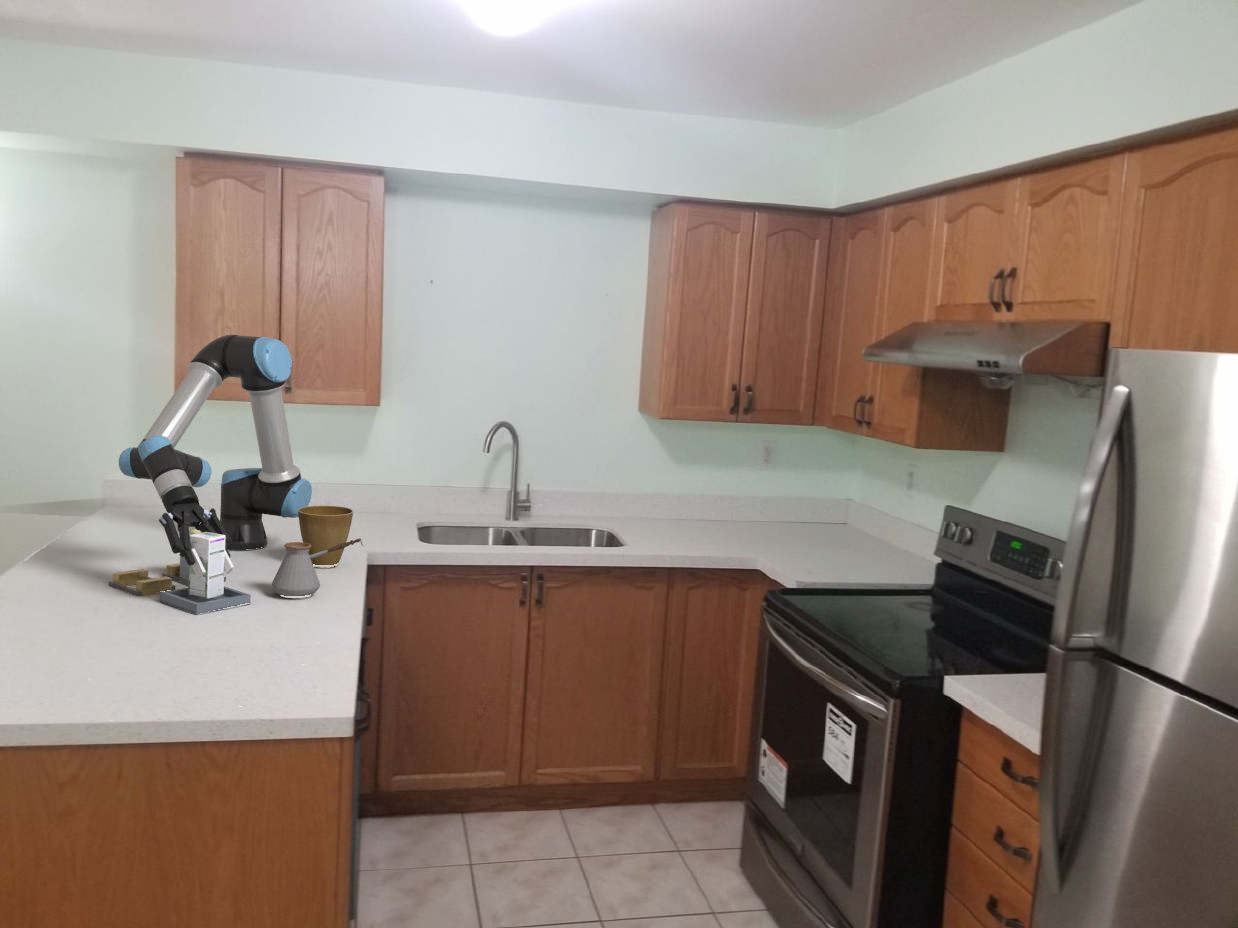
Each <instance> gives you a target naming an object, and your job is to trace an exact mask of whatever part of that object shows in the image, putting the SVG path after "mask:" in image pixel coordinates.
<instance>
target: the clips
mask: <svg viewBox="0 0 1238 928" xmlns="http://www.w3.org/2000/svg"><path fill="white" fill-rule="evenodd" d="M162 577H170V578H172V582H175V583H178V584H182V585H184V586H188V587H189V580H187V579H183V578H180V562H179V563H174V564H173V563H172V564H167V565H166V572H164V573H162ZM225 580H226V581H227V577H226V576H224V582H226V581H225Z"/></svg>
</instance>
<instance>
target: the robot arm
mask: <svg viewBox="0 0 1238 928" xmlns="http://www.w3.org/2000/svg"><path fill="white" fill-rule="evenodd" d="M292 361H293V360H292V356H291V352H290V350H289V349H288V346H287V345H286V344H285V343H283V342H282V341H281V340H279V339H276V338H270V337H267V336H251V335H250V336H248V335H238V334H225V335H222V336H220V337H217V338H215V339H214V340H212V341H210V342H209V343H207V344H206V345H205V346H203V348H201V349H200V350H199V351H198V352H197V353H196V355H195V356H194V357H193V358H192V359H191V361H190V362H189V363H188V366H187V374H186V375H185V376H184V379H182V381H181V383H180V385H178V387H177V389H176V390H175V391H174V393H173V395H172V396H171V397H170V399H169V400H168V402H167V404H165V406H164V407H163V409H162V410H161V412H160V414H159V415H157V418H156V419H155V421H154V422H153V424H152V425H151V427H150V428H149V429H148V432H147V433H145V435H144V437H143V438H142V439H141V441H140V443H139V444H138V446H137V447H135V446H134V447H128V448H126V449H124V450H123V451H121V453H120V455H119V457H118V467H119V471H120V472H121V473H122V474H123V475H124V476H126V477H132V478H135V479H143V480H151V481H152V483H153V484H152V485H154V488H155V490H156V493H157V494H158V497H159V498H160V500H161V502H162V504H163V506H164V509H165V511H166V512H164V513H162V515H161V516H160V518H159V519H158V521H159V523H160V524H161V526H162V527H163V529H164V532H165V534H166V537H167V540H168V543H169V545H170V549H171V551H172V553H173V554H179V557H180V556H181V557H185V560H186V562H187V564H188V565H189V566H190V565H191V566H192V568H193V570H194V572H195V574H196V576H197V579H200V578H201V577H202V576H203V575H204V574H205V572H206V571H205V569H204V567H203V565H202V563H201V561H200V559H199V557H198V554H197V552H196V550H195V548H194V549H191V550H190V548H191V547H190V535H189V532H190V527H191V528H196V529H197V530H200V531H201V532H210V533H216V534H221V535H225V561H224V574H225V575H229V574H230V573H231V572H232V571H233V569H234V568H235V566H234V565H233V564H234V563H233V562H232V561H231V553H230V552H229V551H247V550H246V549H255V550H257V549H256V548H261V547H264V546H266V545H267V546H268V537H267V532H266V530H265V526H264V522H263V515H267V516H268V515H269V516H275V517H282V518H285V519H286V518H293V519H295V518H299V516H298V509H300V508H302V507H308V506H309V505H310V503H311V499H312V491H313V489H312V484H311V483H310V481H309V480H308V479H306V478H302V474H301V470H300V467H298V466H297V465H295V464H294V459H293V452H292V448H291V441H290V436H289V428H288V424H287V416H286V411H285V410H286V409H285V403H284V399H283V398H284V397H283V393H282V388H284V387H285V386H286V383H287V382H286V380H288V379H289V377H290V375H291V372H292V370H291V369H292V367H293V362H292ZM229 378H239V379H240V383H241V388H242V389H243V391H245V392H247V393H248V395H249V400H250V406H251V410H252V411H251V413H252V418H253V422H254V429H255V434H256V441H257V445H258V450H259V451H258V452H259V456H260V463H261V467H246V468H235V469H227V470H225V471H224V472H223V473H222V476H221V483H220V486H221V487H220V511H219V512H220V515H219V517H218V516H217V511H216V509H215V508H213V507H212V508H211V509H205V508H204V507H202V506H201V505H200V501H199V497H198V494H197V492H196V491H195V489H194V488H201V487H203V486H205V485H206V484H207V483H208V482H209V480H210V479H211V476H212V468H211V467H212V466H211V464H210V463H209V462H208V461H207V460H205V459H204V458H201V457H200V456H195V455H191V454H189V453H186V452H183V451H181V450H179V449H175V447H176V446H177V445H178V443H179V442H180V440H181V438H182V437H183V436H184V434H185V433H186V432H187V429H188V428H189V427H190V425H191V423H192V422H193V420H194V419H195V417H196V416H197V415H198V413H199V411H200V410H201V408H203V405H204V404H205V402H206V401H207V399H208V397H209V396H210V395H211V393H212V392H213V390H214V389H215V388H218V387H221V385H222V384H223V382H224V380H226V379H229ZM175 523H177V524H176V525H177V528H176V525H175ZM267 546H266V547H267ZM264 548H265V547H264ZM228 549H229V550H228ZM261 549H262V548H261Z"/></svg>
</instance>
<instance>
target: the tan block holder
mask: <svg viewBox="0 0 1238 928" xmlns="http://www.w3.org/2000/svg"><path fill="white" fill-rule="evenodd" d="M133 585H136V588H134V587H131V586H133ZM108 586H109V587H112V588H115V589H117V590H121V591H122V590H123V592H125V591H126V593H128V592H129V593H128V594H131V593H132V594H131V595H134V596H136V595H137V596H138V597H140V596H139V595H141V596H146V595H145V594H147V595H151V594H150V593H153V594H157V593H156V592H159V593H161V592H160V591H167V590H176V586H177V585H175V584H173V581H172V578H170V577H163V576H159V577H150V576H149V570H147V569H144V568H138V569H132V570H131V569H130V570H125V571H117V572H113V573H112V580H110V581H109V582H108ZM137 596H136V597H137Z"/></svg>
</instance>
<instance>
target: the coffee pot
mask: <svg viewBox="0 0 1238 928" xmlns="http://www.w3.org/2000/svg"><path fill="white" fill-rule="evenodd" d="M359 542H360V544H361V546H362V547H364V543H363V541H362V538H361V537H360V538H356V539H354V540H350V541H347V542H346V543H342V544H339V545H337V546H334V547H332V548H329V549H327V550H325V551H321V552H318V553H315V554H312V555H309V554H308V552H309V549H310V547H311V544H309V543H303V541H302V542H299V541H295V542H286V543H284V544H283V545H284V547H285V550H286V553H285V555H284V558H283V560H282V562H281V563H280V566H279V567H278V569H277V572H276V573H275V576H274V577H273V580H272V582H271V587H272V590H273V591H274V592H275V593H276V594H278V595H279V594H280V595H284V596H305V595H310V594H312V595H314V594H316V592H317V591H318V590H319V589H320V587H321V583H320V580H319V578H318V575H317V572H316V570H315V569H316V568H314V567H313V564H312V561H311V559H312V558H315V557H317V556H320V555H323V554H325V553H329V552H332V551H335V550H339V549H342V548H344V549H345V548H347V547H349V546H353V545H354V544H355V543H359ZM313 593H314V594H313Z"/></svg>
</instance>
